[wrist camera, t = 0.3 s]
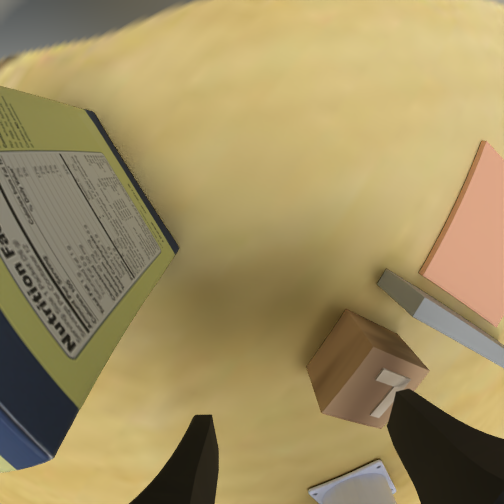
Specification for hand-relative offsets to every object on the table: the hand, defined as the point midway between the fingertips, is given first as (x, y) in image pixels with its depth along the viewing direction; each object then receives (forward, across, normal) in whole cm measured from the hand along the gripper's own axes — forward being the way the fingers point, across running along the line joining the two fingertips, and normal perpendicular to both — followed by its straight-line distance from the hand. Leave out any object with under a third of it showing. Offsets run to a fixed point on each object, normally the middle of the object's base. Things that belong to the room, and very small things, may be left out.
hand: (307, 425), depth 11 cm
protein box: (+10, +15, -6) cm, 19 cm away
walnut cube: (+10, -5, +3) cm, 12 cm away
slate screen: (+10, -14, +2) cm, 17 cm away
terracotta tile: (+10, -17, -4) cm, 20 cm away
